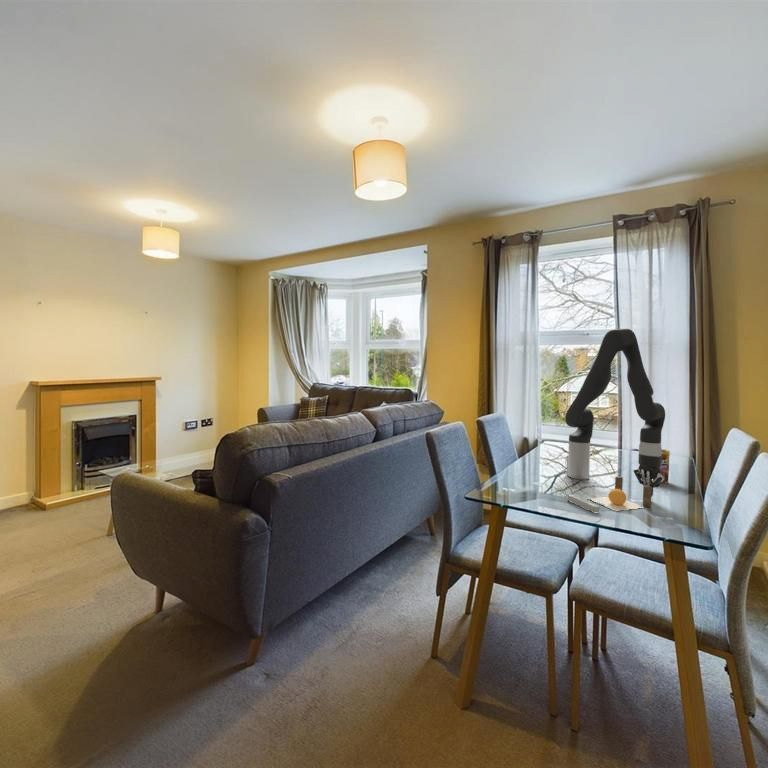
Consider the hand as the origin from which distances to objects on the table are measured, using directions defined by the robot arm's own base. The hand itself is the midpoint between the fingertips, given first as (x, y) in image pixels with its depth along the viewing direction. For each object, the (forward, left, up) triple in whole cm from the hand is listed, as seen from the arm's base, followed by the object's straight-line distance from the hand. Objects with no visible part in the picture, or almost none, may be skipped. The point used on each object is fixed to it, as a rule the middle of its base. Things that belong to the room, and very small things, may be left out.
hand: (648, 496), depth 163 cm
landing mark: (0, -16, -2) cm, 16 cm away
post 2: (+7, -8, -2) cm, 10 cm away
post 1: (-7, -8, -2) cm, 10 cm away
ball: (+1, -16, +2) cm, 16 cm away
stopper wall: (0, -31, -2) cm, 31 cm away
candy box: (-20, +27, -2) cm, 34 cm away
